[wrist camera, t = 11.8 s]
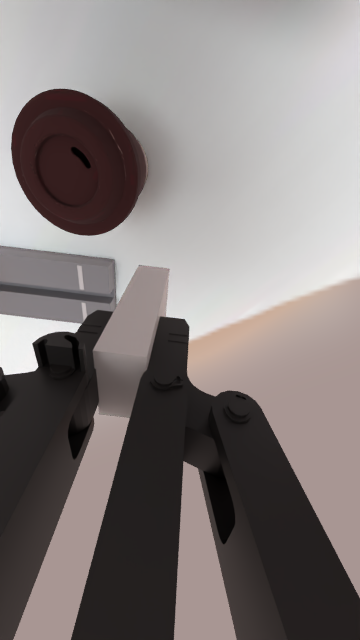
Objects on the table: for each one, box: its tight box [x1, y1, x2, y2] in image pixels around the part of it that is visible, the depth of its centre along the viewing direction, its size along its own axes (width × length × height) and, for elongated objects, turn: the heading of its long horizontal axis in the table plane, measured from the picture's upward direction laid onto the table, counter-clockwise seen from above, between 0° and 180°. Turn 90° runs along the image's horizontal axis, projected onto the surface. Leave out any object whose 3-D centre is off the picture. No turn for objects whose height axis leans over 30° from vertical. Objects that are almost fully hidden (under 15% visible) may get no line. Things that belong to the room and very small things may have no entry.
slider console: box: [0, 246, 116, 324], centre depth 39 cm, size 10×24×3 cm, turn 84°
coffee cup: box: [11, 89, 148, 236], centre depth 25 cm, size 10×10×15 cm
